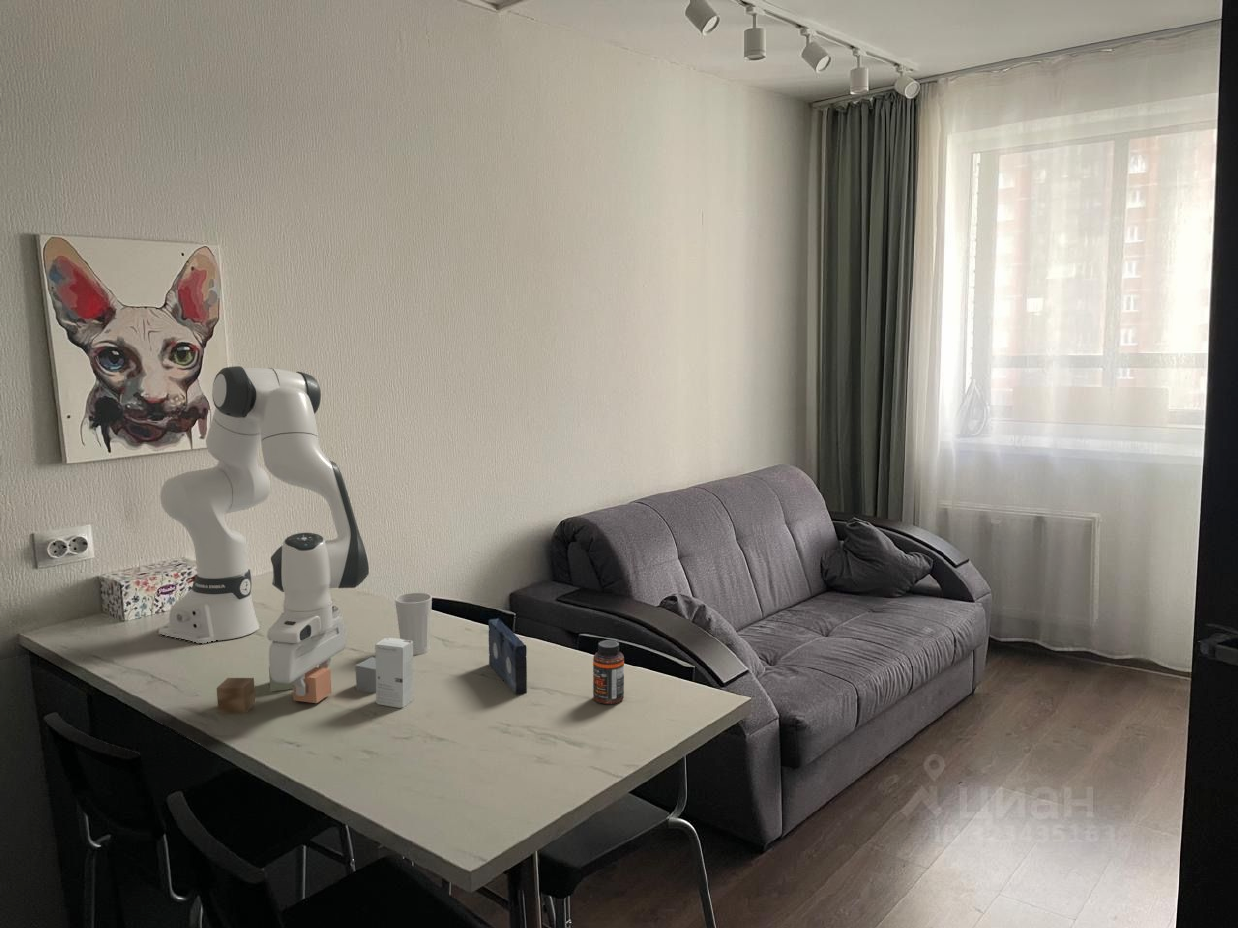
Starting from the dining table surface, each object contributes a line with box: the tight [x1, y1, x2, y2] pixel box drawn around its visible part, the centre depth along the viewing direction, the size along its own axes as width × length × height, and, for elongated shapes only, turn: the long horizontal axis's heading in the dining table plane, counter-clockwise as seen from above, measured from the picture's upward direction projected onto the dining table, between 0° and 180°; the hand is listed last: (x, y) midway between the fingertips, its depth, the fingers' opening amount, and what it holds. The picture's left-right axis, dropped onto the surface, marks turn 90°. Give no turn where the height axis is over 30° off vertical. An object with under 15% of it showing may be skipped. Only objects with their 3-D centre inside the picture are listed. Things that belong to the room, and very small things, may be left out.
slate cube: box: [355, 656, 376, 694], centre depth 188 cm, size 5×5×5 cm
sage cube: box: [268, 666, 293, 692], centre depth 189 cm, size 5×5×5 cm
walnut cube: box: [216, 677, 256, 714], centre depth 178 cm, size 5×5×5 cm
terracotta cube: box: [292, 666, 332, 704], centre depth 182 cm, size 5×5×5 cm
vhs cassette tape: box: [488, 617, 528, 696], centre depth 192 cm, size 18×3×10 cm, turn 23°
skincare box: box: [374, 637, 414, 709], centre depth 180 cm, size 6×4×12 cm
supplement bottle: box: [592, 639, 625, 705], centre depth 181 cm, size 6×6×11 cm
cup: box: [394, 592, 433, 656], centre depth 208 cm, size 8×8×12 cm
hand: (312, 687), depth 182 cm, fingers closed on terracotta cube, 5 cm apart
